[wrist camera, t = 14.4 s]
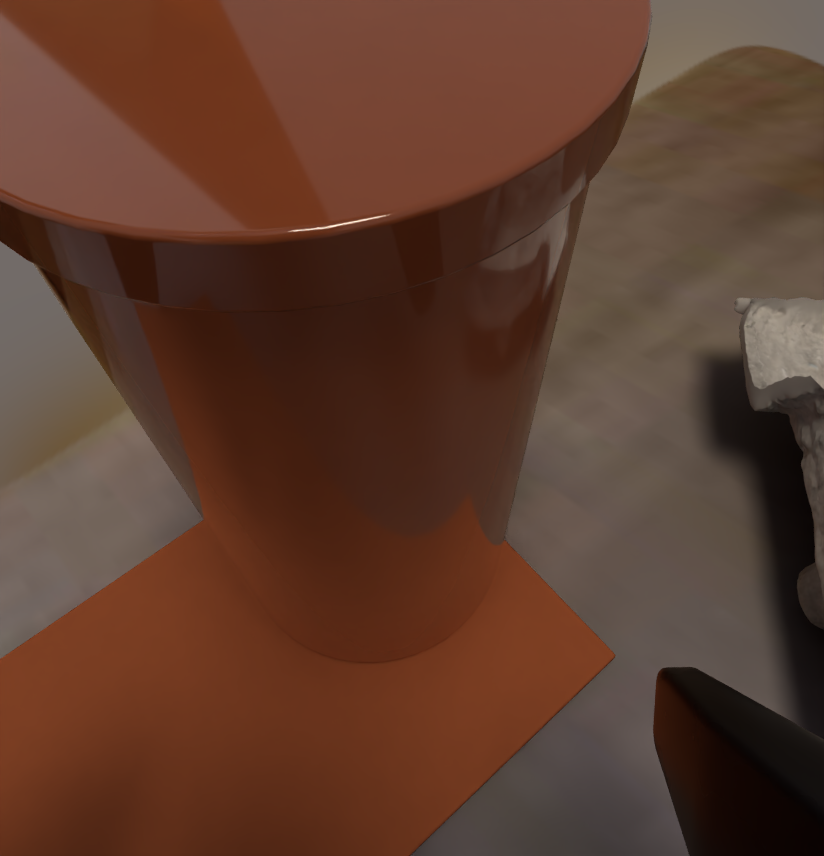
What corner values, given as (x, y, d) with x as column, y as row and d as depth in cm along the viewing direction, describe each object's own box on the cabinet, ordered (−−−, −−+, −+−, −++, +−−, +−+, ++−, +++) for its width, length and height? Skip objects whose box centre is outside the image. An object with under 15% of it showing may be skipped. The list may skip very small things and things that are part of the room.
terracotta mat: (-137, 1384, 11) (-156, 1402, 10) (-273, 856, 14) (-290, 856, 14) (613, 659, 16) (616, 654, 16) (374, 410, 20) (373, 403, 20)
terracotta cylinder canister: (528, 661, 16) (762, 206, 5) (227, 683, 16) (-254, 269, 5) (491, 410, 19) (575, -186, 8) (244, 426, 19) (-3, -158, 8)
